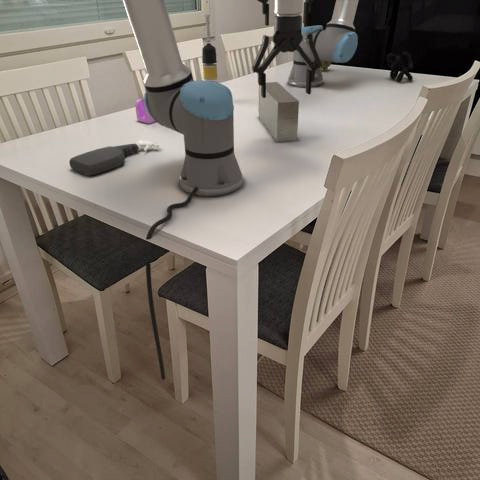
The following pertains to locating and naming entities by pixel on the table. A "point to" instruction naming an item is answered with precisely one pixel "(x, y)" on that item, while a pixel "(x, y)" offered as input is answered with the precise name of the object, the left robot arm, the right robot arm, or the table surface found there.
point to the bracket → (142, 112)
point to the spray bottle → (106, 157)
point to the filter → (209, 57)
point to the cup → (325, 65)
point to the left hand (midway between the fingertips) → (285, 95)
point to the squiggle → (399, 66)
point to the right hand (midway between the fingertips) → (286, 24)
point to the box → (279, 112)
